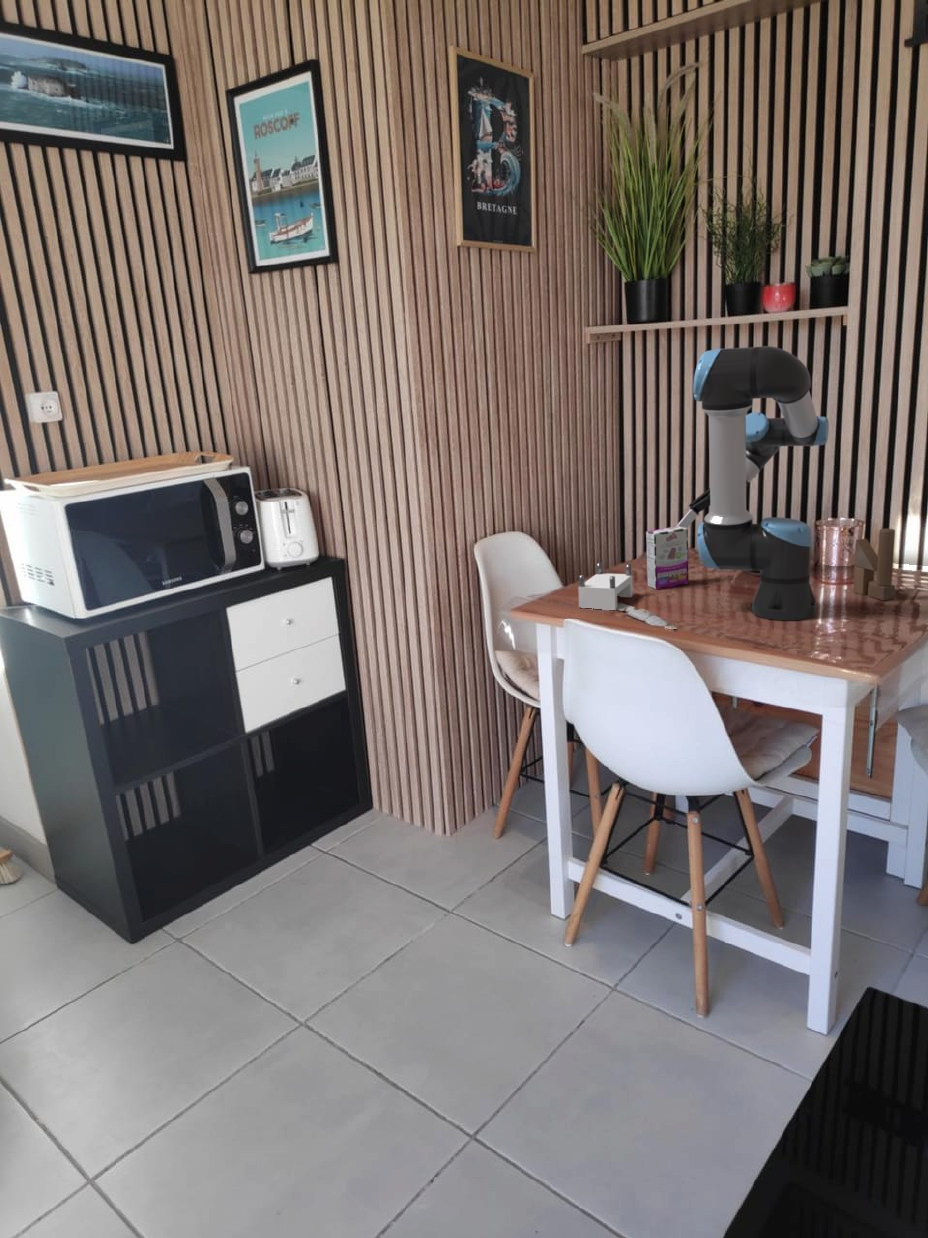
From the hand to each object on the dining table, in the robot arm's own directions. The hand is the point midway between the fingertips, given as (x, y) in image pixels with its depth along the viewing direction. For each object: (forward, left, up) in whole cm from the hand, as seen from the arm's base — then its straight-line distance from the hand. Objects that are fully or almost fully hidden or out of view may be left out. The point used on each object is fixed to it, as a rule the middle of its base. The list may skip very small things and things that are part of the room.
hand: (689, 533), depth 258 cm
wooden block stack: (-35, -35, -15) cm, 51 cm away
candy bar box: (-1, +7, -15) cm, 16 cm away
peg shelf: (-10, +29, -14) cm, 34 cm away
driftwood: (-24, +27, -15) cm, 39 cm away
